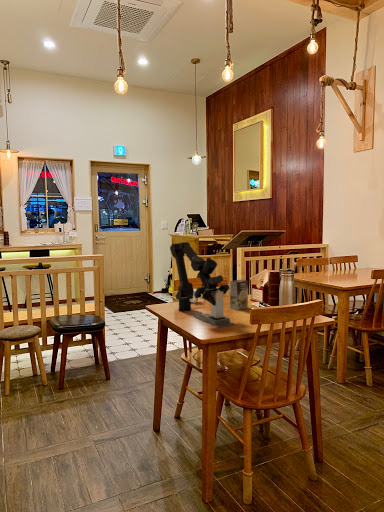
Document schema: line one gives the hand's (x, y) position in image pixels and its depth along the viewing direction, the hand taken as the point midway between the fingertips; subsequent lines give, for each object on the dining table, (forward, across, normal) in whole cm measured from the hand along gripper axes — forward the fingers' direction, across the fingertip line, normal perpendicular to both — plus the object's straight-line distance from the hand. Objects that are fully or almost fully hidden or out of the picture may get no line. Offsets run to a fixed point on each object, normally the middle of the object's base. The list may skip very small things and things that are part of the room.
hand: (218, 304), depth 187 cm
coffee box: (-8, +29, +21) cm, 37 cm away
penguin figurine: (-28, +13, +42) cm, 53 cm away
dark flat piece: (+3, 0, +10) cm, 11 cm away
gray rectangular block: (+4, 0, +6) cm, 7 cm away
